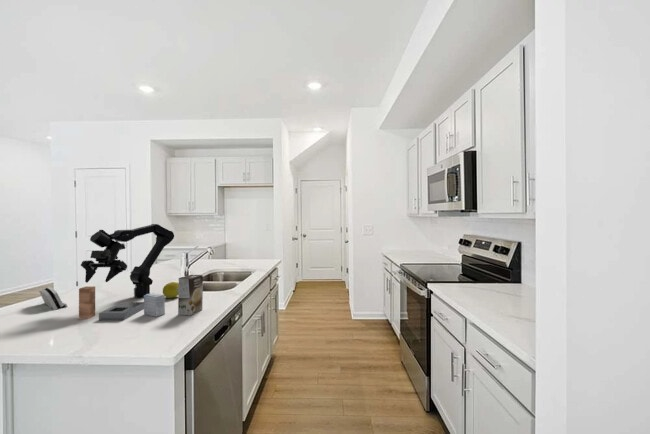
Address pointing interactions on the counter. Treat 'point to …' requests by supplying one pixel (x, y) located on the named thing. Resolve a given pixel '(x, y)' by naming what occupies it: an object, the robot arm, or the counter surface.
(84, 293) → the square peg
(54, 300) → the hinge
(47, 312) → the counter surface
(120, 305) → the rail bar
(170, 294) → the lemon
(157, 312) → the medicine box
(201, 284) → the coffee box
